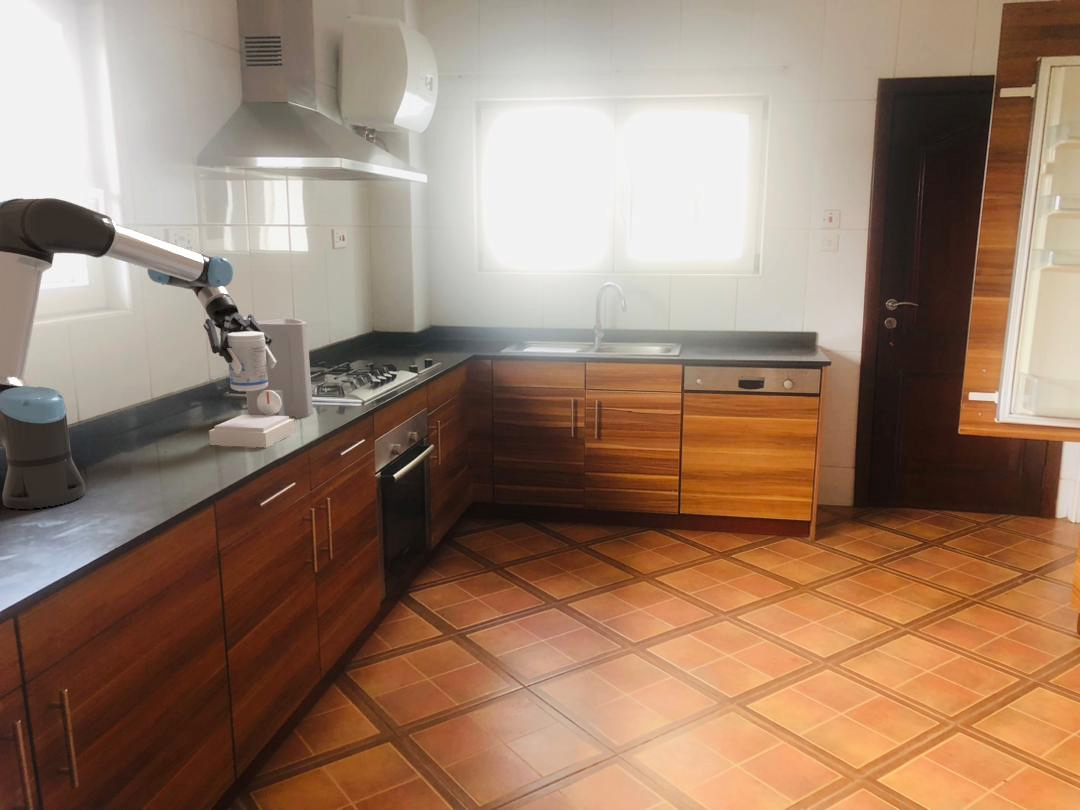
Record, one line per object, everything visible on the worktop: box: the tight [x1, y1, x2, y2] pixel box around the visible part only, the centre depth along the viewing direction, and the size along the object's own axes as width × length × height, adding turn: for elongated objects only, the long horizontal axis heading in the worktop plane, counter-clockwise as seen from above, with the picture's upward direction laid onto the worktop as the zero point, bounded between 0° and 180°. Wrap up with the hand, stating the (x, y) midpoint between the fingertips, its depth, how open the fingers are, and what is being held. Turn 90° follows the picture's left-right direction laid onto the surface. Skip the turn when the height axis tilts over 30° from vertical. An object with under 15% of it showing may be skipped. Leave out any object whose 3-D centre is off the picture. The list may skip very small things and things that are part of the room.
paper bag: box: [241, 318, 314, 418], centre depth 256 cm, size 19×15×28 cm
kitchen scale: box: [208, 390, 296, 449], centre depth 226 cm, size 21×16×12 cm
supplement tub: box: [227, 331, 268, 392], centre depth 221 cm, size 10×10×15 cm
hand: (257, 367), depth 219 cm, fingers closed on supplement tub, 9 cm apart
